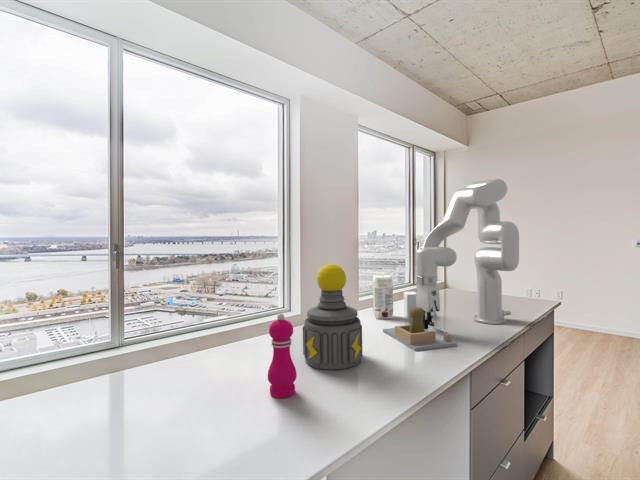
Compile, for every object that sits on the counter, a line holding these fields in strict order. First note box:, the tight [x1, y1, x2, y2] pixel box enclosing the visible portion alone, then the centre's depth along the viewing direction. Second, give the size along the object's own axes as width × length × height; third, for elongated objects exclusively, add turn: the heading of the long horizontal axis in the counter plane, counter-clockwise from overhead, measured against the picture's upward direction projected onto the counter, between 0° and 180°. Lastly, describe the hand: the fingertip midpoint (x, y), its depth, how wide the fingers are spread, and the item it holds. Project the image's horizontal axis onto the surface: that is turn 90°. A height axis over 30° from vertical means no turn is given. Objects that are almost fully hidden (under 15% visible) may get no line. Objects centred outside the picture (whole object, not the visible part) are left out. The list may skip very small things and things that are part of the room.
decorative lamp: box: [302, 263, 363, 371], centre depth 113 cm, size 19×19×30 cm
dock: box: [382, 324, 457, 352], centre depth 134 cm, size 16×24×4 cm, turn 16°
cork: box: [409, 307, 425, 333], centre depth 131 cm, size 6×6×11 cm
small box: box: [403, 291, 417, 318], centre depth 169 cm, size 8×6×10 cm
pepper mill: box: [267, 313, 297, 399], centre depth 91 cm, size 7×7×20 cm
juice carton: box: [372, 274, 394, 320], centre depth 166 cm, size 8×9×19 cm
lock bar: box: [428, 321, 448, 340], centre depth 133 cm, size 2×10×4 cm, turn 15°
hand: (427, 328), depth 140 cm, fingers closed
